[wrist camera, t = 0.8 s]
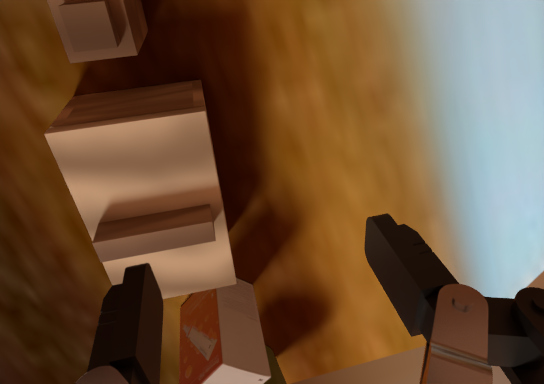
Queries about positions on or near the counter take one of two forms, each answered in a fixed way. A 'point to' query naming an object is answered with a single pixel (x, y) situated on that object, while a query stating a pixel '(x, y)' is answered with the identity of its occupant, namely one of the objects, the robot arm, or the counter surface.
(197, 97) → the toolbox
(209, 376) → the small box
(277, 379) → the plant pot
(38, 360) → the counter surface
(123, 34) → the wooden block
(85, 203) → the lid
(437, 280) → the robot arm
